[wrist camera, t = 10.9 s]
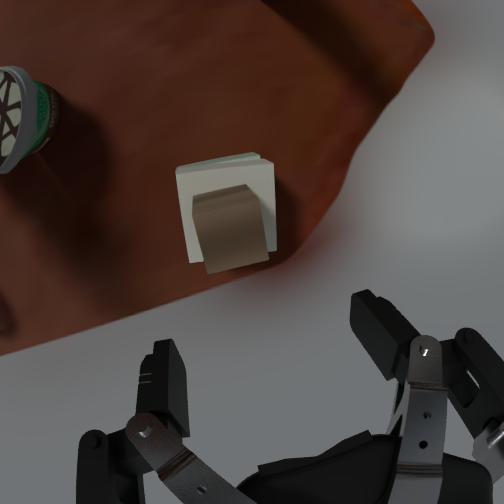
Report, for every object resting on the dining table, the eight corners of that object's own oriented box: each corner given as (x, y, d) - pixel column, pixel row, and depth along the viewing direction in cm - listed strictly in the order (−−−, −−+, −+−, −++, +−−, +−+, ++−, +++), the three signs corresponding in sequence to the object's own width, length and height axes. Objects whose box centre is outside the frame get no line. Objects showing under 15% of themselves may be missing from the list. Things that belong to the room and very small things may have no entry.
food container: (77, 143, 27) (36, 152, 18) (40, 161, 26) (-4, 177, 17) (61, 57, 21) (21, 41, 12) (24, 79, 21) (-20, 73, 12)
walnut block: (192, 195, 25) (191, 215, 20) (245, 183, 26) (259, 199, 20) (204, 244, 27) (207, 274, 22) (254, 232, 28) (269, 259, 22)
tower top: (178, 168, 27) (175, 174, 24) (263, 158, 29) (273, 163, 25) (190, 246, 31) (189, 263, 28) (267, 236, 33) (276, 250, 29)
